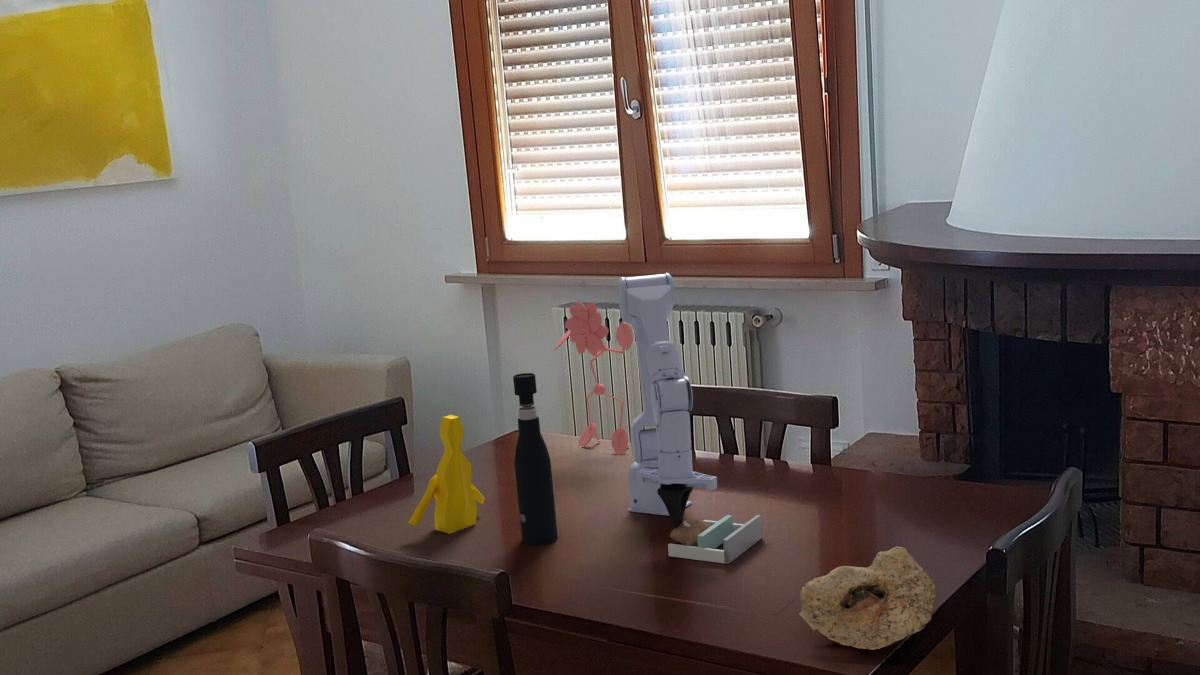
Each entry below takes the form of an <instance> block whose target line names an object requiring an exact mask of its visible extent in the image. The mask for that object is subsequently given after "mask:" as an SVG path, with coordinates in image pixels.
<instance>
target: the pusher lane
mask: <svg viewBox="0 0 1200 675" xmlns="http://www.w3.org/2000/svg"><path fill="white" fill-rule="evenodd" d="M702 521H703V522H705V523H707V524H708V525H709V526H710V527H711V526H712V525H713V524H715V523H716V522H718V521H719V520H717V521H716V520H710V519H703V520H702ZM762 523H763V522H762V514H756V515H755V516H754V517H752V518H751V519H750V520H748V521H747V522H745V523H736V522H733V533H732V534H730V535H729V536H728V537H726V538H725V539H723V543H722V544H723V546H722V547H723V549H718V548H715V549H710V548H702V547H694V546H686V545H684V544H676V543H668V544H667V548H668V550H667V551H668V557H673V558H681V559H690V560H696V561H703V562H712V563H719V564H726V565H729V564H730V563H731V564H732V562H733V561H735V560H736V559H737V558H738V557H740V556H741V555H742V554H743V553H745V552H746V551H747V550H748V549H750V548H751V547H753V546H754V545H755V544H756V543H757V542H759V541H760V540H762V539H763V526H762V525H763V524H762Z"/></svg>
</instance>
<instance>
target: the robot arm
mask: <svg viewBox="0 0 1200 675" xmlns="http://www.w3.org/2000/svg"><path fill="white" fill-rule="evenodd" d="M675 292H676V291H675V284H674V279H673V276H672V275H671V274H670V273H669V272H665V273H660V274H650V275H639V276H630V277H623V276H621V277H620V278H619V280H617V296H618V303H619V314H620V317H621V322H624V323H626V324H628V325H629V324H630V325H631V328H632V331H633V334H634V337H635V345H636V346H635V347H636V355H637V364H638V373H639V374H638V375H639V384H640V392H641V400H642V401H641V402H642V409H643V410H642V412H641V413H640V414H639V415H637V416H636V417H635V418H634V419H633V420H632V421H631V423H630V424H631V425H630V447H631V455H632V458H633V461H634V462H633V463H632V464H631V465H630V467H629V469H628V470H629V471H628V474H627V475H628V476H627V479H628V480H627V481H628V482H627V483H628V492H629V493H628V494H629V506H630V507H629V508H628V511H629V512H630V513H631V512H633V513H642V514H649V515H650V514H651V515H657V516H659V515H660V516H667V517H668V516H669V519H670V522H671V525H672V528H673V529H674V528H678V526H679V525H680V524H681V523H682V522H683V521H684V515H685V511H686V508H687V507H688V506H690V505H692V501H691V500H689V498H690V497H691V494H692V492H693V489H694V488H695V489H696V488H697V489H705V490H706V491H714V490H716V489H717V488H718V476H715V475H709V474H704V473H701V472H697V471H693V470H694V469H693V454H692V452H693V451H692V438H691V437H692V436H691V434H692V433H691V419H690V418H691V417H690V412H691V411H692V410H693V405H694V404H693V403H694V401H693V400H694V398H693V396H694V395H693V388H692V384H691V381H690V379H689V377H688V376H687V373H686V372H684V369H683V365H682V361H681V358H680V357H681V356H680V353H679V352H680V351H679V349H678V347H677V346H676V345H675V344H674V343H672V342H670V334H669V328H668V326H669V325H668V318H670V317H671V314H672V311H673V308H674V304H675V302H676V301H675V300H676V293H675ZM654 426H655V428H648V427H654ZM644 428H645V429H644ZM646 428H647V429H646Z"/></svg>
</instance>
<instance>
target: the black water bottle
mask: <svg viewBox="0 0 1200 675" xmlns="http://www.w3.org/2000/svg"><path fill="white" fill-rule="evenodd" d="M512 379H513V389H514V395H515V396H518V402H519V403H518V404H519V406H520V407H518V411H517V413H518V419H517V424H518V426H517V427H518V428H517V429H518V437H517V441H516V446H515V451H514V472H515V473H514V474H515V485H516V493H517V503H518V512H519V513H518V514H519V524H520V531H521V532H520V534H521V542H522V544H524V545H526V546H531V547H534V546H535V547H538V546H539V547H540V546H545V545H550V544H553V543H555V542H556V541H557V540H558V539H559V535H558V525H557V515H556V512H557V511H556V505H555V504H556V502H555V493H554V482H553V472H552V462H551V461H552V460H551V458H550V452H549V449H548V446H547V444H546V442H545V439H544V437H543V435H542V433H541V426H540V424H541V423H540V417H539V416H538V413H537V411H538V409H537V406H534V405H535V402H534V401H535V400H534V399H535V398H534V394H537V392H538V391H537V379H536V374H535V373H533V372H532V373H531V372H526V373H517V374H515V375H513V377H512Z"/></svg>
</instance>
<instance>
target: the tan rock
mask: <svg viewBox="0 0 1200 675" xmlns="http://www.w3.org/2000/svg"><path fill="white" fill-rule="evenodd" d="M799 593H800V594H799V596H800V598H799V601H800V605H801V609H800V612H799V613H798V614H799V616H800V617H802V619H803V620H804V621H805V622H806V624H808V626H809V627H810V628H811V629H812V630H813V631H816V630H817V631H818V632H819V633H821V634H822V635H823V636H825V637H827V639H828V640H830V641H834V642H835V643H838V644H840V645H842V646H847V647H850V646H851V647H853V648H857V649H863V650H866V649H868V650H870V651H871V650H873V651H876V650H877V649H878V650H879V649H882V648H885V647H886V648H887V647H888V646H890V645H893V644H894V643H896V642H898V641H901V640H903V639H904V638H906V637H908V636H909V635H912V634H916V633H918V632H920V631H922V630H924V629H925V627H926V626H927V624H928V623H929V622H930V621H931V620H932V613H933V609H934V603H935V598H936V596H937V592H936V584H935V582H934V580H933V579H932V578H931V577H930V575H928V574H927V572H926V570H925V569H924V568H923V567H922V566H921V565H919V564H918V562H917V561H915V558H914V557H913V556H912V555H911V554H910V553H909V552H908V551H907V549H906V548H905V547H902V546H895V547H893V548H891V549H889V550H885V551H879V552H877V553H876V555H875V557H874V559H873V560H872V564H870V565H869V566H867V567H863V566H862V567H861V566H850V565H843V566H842V565H841V566H838V567H835V568H834V569H832V570H830V572H829V573H827V574H826V575H822V576H818V577H816V578H815V577H814V578H813V580H811V579H810V580H808V581H806V582H805V585H804V586H802V588H801V590H800V592H799Z"/></svg>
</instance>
